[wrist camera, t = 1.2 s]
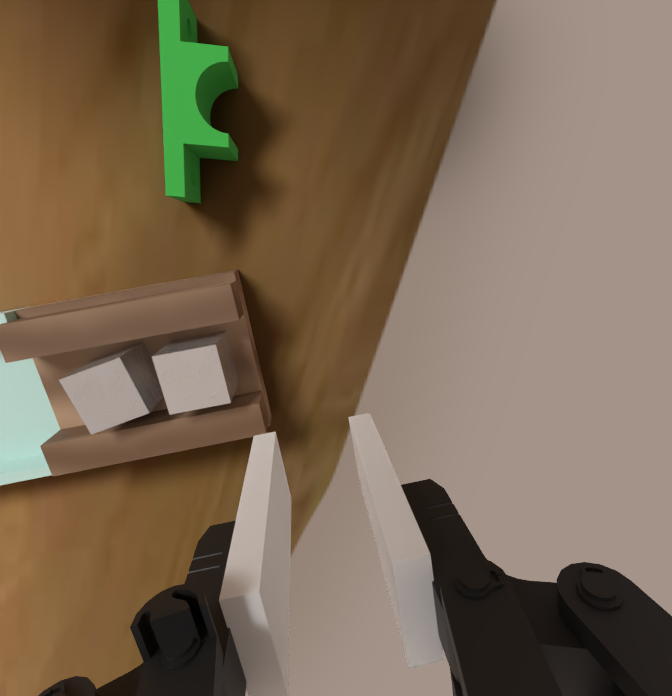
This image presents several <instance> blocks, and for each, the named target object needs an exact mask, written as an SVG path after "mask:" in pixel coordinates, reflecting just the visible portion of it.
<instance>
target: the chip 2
mask: <svg viewBox="0 0 672 696" xmlns="http://www.w3.org/2000/svg"><path fill="white" fill-rule="evenodd" d="M152 359H153V363H154V366H155V369H156V372H157V376H158V379H159V382H160V385H161V389H162V392H163V395H164V398H165V402H166V405H167V408H168V411H169V415H171V414H176V413H181V412H187V411H192V410H197V409H202V408H207V407H212V406H218V405H223V404H228V403H231V401H232V399H233V396H234V394H235V391H236V389H237V386H238V384H239V380H238V376H237V372H236V368H235V364H234V360H233V356H232V352H231V348H230V344H229V340H228V336H227V332H226V331H222V332H217V333H211V334H206V335H201V336H195V337H190V338H184V339H179V340H174V341H170V342H169V343H168V344H166V345H165V346H164V347H163V348H162V349H160V350H159V351H158V352H157V353H155V354H154V355H153V356H152Z"/></svg>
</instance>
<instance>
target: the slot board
mask: <svg viewBox="0 0 672 696" xmlns="http://www.w3.org/2000/svg"><path fill="white" fill-rule="evenodd" d="M14 312H15V315H16V317H17V320H13V321H10V322H6V323H3V324H0V350H1V353H2V355H3V358H4V360H5V363H9V362H15V361H20V360H25V359H31V358H33V361H34V363H35V366H36V368H37V371H38V373H39V376H40V378H41V381H42V384H43V386H44V389H45V391H46V394H47V396H48V399H49V401H50V404H51V407H52V409H53V412H54V414H55V417H56V419H57V422H58V424H59V427H60V430H59V431H58V432H57V433H56V434H54V435H53V436H52V437H51V438H49V439H48V440H47V441H46V442H44V443H43V444H42V445H41V446H40V447H41V450H42V452H43V455H44V457H45V459H46V462H47V464H48V467H49V469H50V472H51V474H52V476H58V475H63V474H68V473H73V472H78V471H83V470H88V469H93V468H98V467H103V466H109V465H114V464H119V463H124V462H129V461H134V460H139V459H144V458H149V457H154V456H159V455H164V454H169V453H174V452H179V451H184V450H189V449H194V448H199V447H204V446H209V445H214V444H219V443H224V442H229V441H234V440H240V439H245V438H250V437H254V436H255V435H261V434H266V433H267V427H269V426H270V424H271V417H272V415H271V410H270V406H269V402H268V397H267V393H266V389H265V384H264V380H263V376H262V372H261V367H260V363H259V359H258V354H257V350H256V346H255V341H254V337H253V333H252V328H251V324H250V320H249V315H248V311H247V307H246V303H245V298H244V294H243V290H242V285H241V281H240V277H239V272H238V270H232V271H227V272H221V273H215V274H210V275H204V276H199V277H193V278H187V279H182V280H176V281H170V282H165V283H159V284H154V285H148V286H142V287H137V288H131V289H126V290H120V291H114V292H109V293H103V294H97V295H92V296H86V297H81V298H75V299H69V300H64V301H58V302H52V303H47V304H41V305H36V306H31V307H27V308H23V309H19V310H15V311H14ZM222 331H226V332H227V336H228V340H229V344H230V348H231V352H232V356H233V360H234V364H235V368H236V372H237V376H238V380H239V384H238V386H237V389H236V391H235V394H234V396H233V399H232V401H231V403H228V404H223V405H218V406H212V407H207V408H202V409H197V410H192V411H187V412H181V413H176V414H171V415H169V411H168V408H167V405H166V402H165V398H164V396H163V398H162V399H161V400H160V401H159V402H158V404H157V405H156V406H155V407H154V408H153V409H152V411H151V412H150V413H148V414H146V415H143V416H140V417H138V418H135V419H132V420H129V421H127V422H124V423H121V424H119V425H116V426H113V427H111V428H108V429H105V430H103V431H100V432H97V433H94V434H92V435H91V434H90V432H89V430H88V429H87V427H86V425H85V423H84V422H83V420H82V418H81V417H80V415H79V413H78V412H77V410H76V408H75V407H74V405H73V403H72V402H71V400H70V398H69V397H68V395H67V393H66V391H65V390H64V388H63V386H62V385H61V383H60V381H59V380H60V379H61V378H63V377H65V376H66V375H68V374H70V373H71V372H73V371H75V370H76V369H78V368H80V367H81V366H83V365H85V364H86V363H88V362H90V361H92V360H95V359H98V358H100V357H103V356H106V355H108V354H111V353H114V352H117V351H119V350H122V349H125V348H127V347H130V346H133V345H135V344H138V343H141V342H143V343H144V345H145V347H146V348H147V350H148V352H149V354H150V356H151V358H152V356H153V355H154V354H155V353H157V352H158V351H159V350H160V349H162V348H163V347H164V346H165V345H166V344H168V343H169V342H170V341H174V340H179V339H184V338H190V337H195V336H201V335H206V334H211V333H217V332H222ZM152 360H153V359H152Z"/></svg>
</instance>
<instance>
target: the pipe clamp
mask: <svg viewBox="0 0 672 696" xmlns="http://www.w3.org/2000/svg"><path fill="white" fill-rule="evenodd" d="M158 18H159V42H160V67H161V91H162V116H163V140H164V165H165V189H166V196H169V197H171V198H174V199H177V200H180V201H183V202H190V203H201V192H200V158H208V159H220V160H232V161H238V148H237V147H236V145H235V143H234V142H233V140H232V139H231V137H230V135H229V134H228V133H223V132H220V131H217V130H215V129H214V128H212V126H211V121H210V112H211V108H212V105H213V103H214V101H215V99H216V98H217V97H218V96H219V95H220V94H221V93H223V92H225V91H227V90H230V89H238V74H237V71H236V68H235V65H234V63H233V60H232V57H231V54H230V51H229V48H228V47H227V46H218V45H209V44H201V43H197V19H196V16H195V14H194V12H193V9H192V7H191V5H190V3H189V0H158Z"/></svg>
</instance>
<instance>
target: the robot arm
mask: <svg viewBox="0 0 672 696" xmlns="http://www.w3.org/2000/svg"><path fill="white" fill-rule="evenodd" d="M348 418H349V424H350V429H351V435H352V441H353V446H354V452H355V458H356V464H357V469H358V475H359V481H360V486H361V489H362V493H363V497H364V501H365V505H366V509H367V512H368V516H369V520H370V524H371V527H372V531H373V535H374V539H375V543H376V546H377V550H378V554H379V558H380V561H381V565H382V569H383V573H384V577H385V580H386V584H387V588H388V592H389V596H390V599H391V603H392V607H393V611H394V615H395V618H396V622H397V626H398V630H399V633H400V637H401V641H402V645H403V649H404V652H405V656H406V660H407V663H408V667H409V668H412V667H417V666H420V665H425V664H430V663H434V662H438V661H442V660H444V657H443V649H444V652H445V655H446V658H447V660H448V663H449V666H450V671H451V680H452V688H453V696H672V616H671V615H670V614H668V613H667V612H666V611H665V610H664V609H663V608H662V607H660V606H659V605H658V604H657V603H656V602H655V601H653V600H652V599H651V598H650V597H649V596H648V595H647V594H645V593H644V592H643V591H642V590H641V589H640V588H639V587H638V586H636V585H635V584H634V583H633V582H632V581H631V580H629V579H627V578H626V577H625V576H623V575H622V574H620V573H619V572H617V571H615V570H613V569H610V568H608V567H605V566H603V565H600V564H593V563H586V562H583V563H576V564H571V565H569V566H567V567H565V568H564V569H562V570H561V572H560V574H559V576H558V578H557V583H552V582H538V581H527V580H521V579H516V578H514V577H511V576H508V575H506V574H505V573H504V571H503V570H502V569H501V568H500V567H498V566H497V565H495V564H494V563H492V562H491V561H488V560H487V559H486V558H485V556H484V555H483V553H482V551H481V550H480V548H479V546H478V545H477V543H476V541H475V540H474V538H473V536H472V535H471V533H470V531H469V530H468V528H467V526H466V525H465V523H464V521H463V520H462V518H461V516H460V515H459V514H458V511H457V509H456V508H455V506H454V505H453V504H452V501H451V499H450V498H449V496H448V494H447V493H446V491H445V489H444V488H443V487H441V486H440V485H438V484H437V483H435V482H434V481H432V480H431V479H427V480H423V481H418V482H413V483H408V484H403V485H400V482H399V480H398V478H397V475H396V473H395V471H394V468H393V466H392V464H391V461H390V459H389V457H388V454H387V452H386V450H385V447H384V445H383V443H382V440H381V438H380V436H379V433H378V431H377V429H376V426H375V424H374V422H373V419H372V417H371V415H370V413H366V414H362V415H356V416H351V417H348ZM290 548H291V496H290V491H289V487H288V483H287V478H286V474H285V470H284V465H283V461H282V457H281V452H280V448H279V444H278V440H277V435H276V432H271V433H266V434H261V435H255V436H254V437H253V442H252V446H251V451H250V456H249V461H248V465H247V470H246V475H245V479H244V484H243V489H242V494H241V498H240V503H239V508H238V513H237V517H236V521H232V522H227V523H222V524H217V525H213V526H210V527H209V528H208V530H207V531H206V532H205V533H204V535H203V536H202V537H201V539H200V540H199V541H198V544H197V547H196V550H195V553H194V556H193V561H192V563H191V566H190V569H189V574H188V575H187V578H186V581H185V584H183V585H177V586H173V587H171V588H168V589H166V590H164V591H162V592H160V593H159V594H157V595H156V596H154V597H153V598H152V599H150V600H149V601H148V602H147V603H146V604H145V605H144V606H143V607H142V608H141V610H140V611H139V612H138V613H137V614H136V616H135V618H134V620H133V622H132V624H131V626H130V628H131V631H132V633H133V636H134V638H135V641H136V643H137V646H138V648H139V651H140V653H141V656H142V658H143V661H144V662H143V663H142V664H141V665H140V666H138V667H137V668H135V669H133V670H132V671H130V672H128V673H127V674H125V675H123V676H121V677H119V678H117V679H115V680H113V681H111V682H109V683H107V684H105V685H103V686H102V687H100V688H98V689H96V688H95V686H94V684H93V683H92V682H91V681H90V680H89V679H88V678H87V677H79V676H75V677H72V678H68V679H65V680H61V681H60V682H58V683H56V684H54V685H53V686H51V687H49V688H48V689H46V690H44V691H43V692H42V693H41V694H40V695H38V696H245V692H246V688H247V691H248V695H249V696H288V675H289V674H288V673H289V611H290ZM442 646H443V649H442Z"/></svg>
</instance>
